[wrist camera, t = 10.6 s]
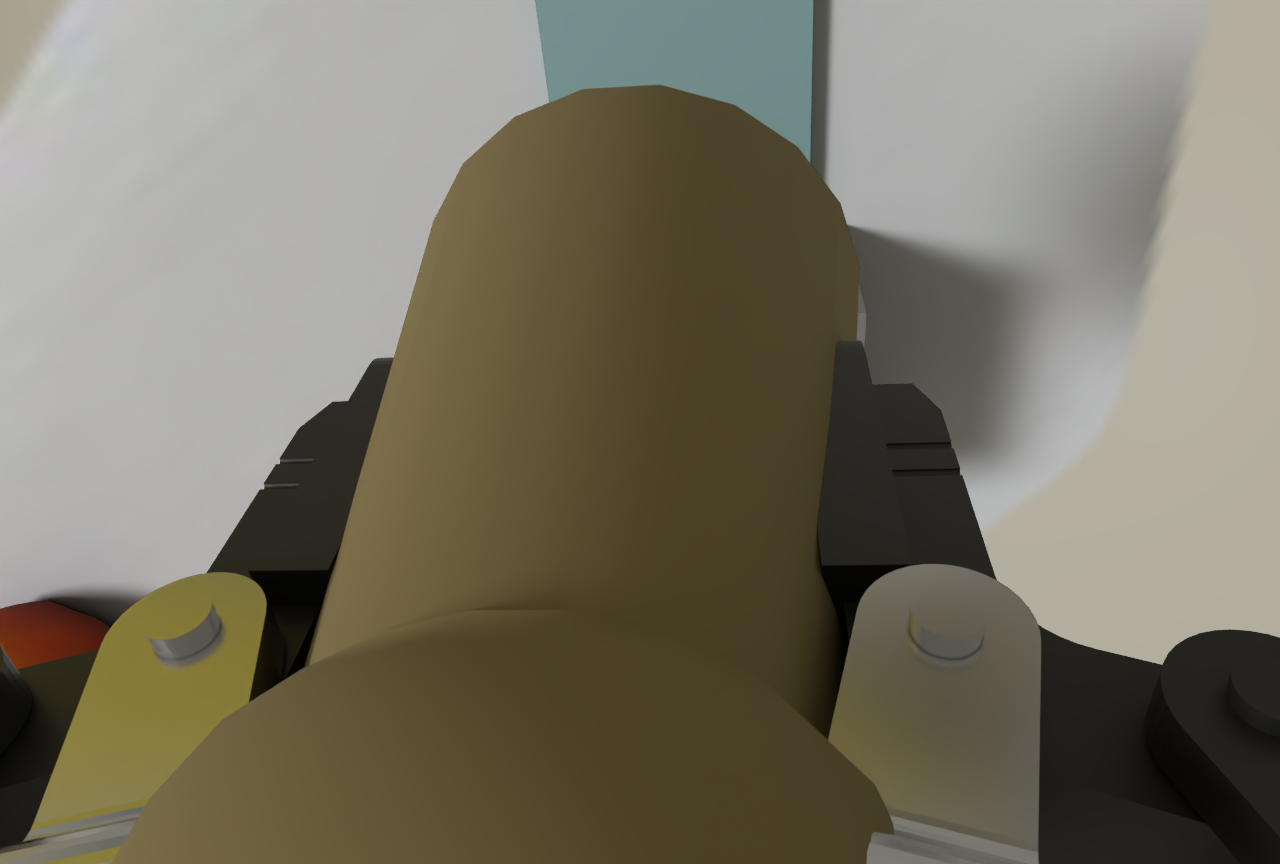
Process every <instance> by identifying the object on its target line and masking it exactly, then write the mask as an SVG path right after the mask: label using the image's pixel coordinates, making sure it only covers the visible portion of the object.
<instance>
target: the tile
mask: <svg viewBox="0 0 1280 864" xmlns="http://www.w3.org/2000/svg"><path fill="white" fill-rule="evenodd" d="M535 2H536V9H537V16H538V24H539V31H540V38H541V45H542V53H543V60H544V67H545V74H546V82H547V89H548V96H549V103H550V102H553V101H555V100H557V99H560V98H562V97H565V96H567V95H570V94H572V93H574V92H577V91H579V90H582V89H592V88H609V87H626V86H643V85H664V86H667V87H671V88H675V89H678V90H682V91H686V92H689V93H693V94H697V95H701V96H704V97H708V98H712V99H715V100H719V101H723V102H726V103H730V104H734V105H736V106H738V107H739V108H741V109H742V110H744V111H745V112H747V113H748V114H750V115H751V116H753V117H754V118H756V119H757V120H759V121H760V122H762V123H763V124H765V125H766V126H768V127H769V128H770V129H772V130H773V131H775V132H776V133H778V134H779V135H781V136H782V137H784V138H785V139H787V140H788V141H790V142H791V143H793V144H794V145H796V146H797V147H798V148H799V149H800V150H801V152H802V153H803V154H804V156H805V157H806V158H807V160H808V161H809V162H810V148H811V97H812V47H813V0H535Z"/></svg>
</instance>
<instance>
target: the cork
mask: <svg viewBox="0 0 1280 864" xmlns="http://www.w3.org/2000/svg"><path fill="white" fill-rule="evenodd" d="M858 293H859V263H858V260H857V257H856V253H855V250H854V247H853V243H852V240H851V237H850V234H849V230H848V227H847V224H846V220H845V217H844V214H843V210H842V207H841V204H840V202H839V201H838V200H837V198H836V197H835V196H834V194H833V193H832V192H831V190H830V189H829V188H828V186H827V185H826V184H825V182H824V181H823V180H822V178H821V177H820V176H819V174H818V173H817V172H816V170H815V169H814V168H813V166H812V165H811V164H810V162H809V161H808V160H807V158H806V157H805V156H804V154H803V153H802V152H801V150H800V149H799V148H798V147H797V146H796V145H794V144H793V143H791V142H790V141H788V140H787V139H785V138H784V137H782V136H781V135H779V134H778V133H776V132H775V131H773V130H772V129H770V128H769V127H768V126H766V125H765V124H763V123H762V122H760V121H759V120H757V119H756V118H754V117H753V116H751V115H750V114H748V113H747V112H745V111H744V110H742V109H741V108H739V107H738V106H736V105H734V104H730V103H726V102H723V101H719V100H715V99H712V98H708V97H704V96H701V95H697V94H693V93H689V92H686V91H682V90H678V89H675V88H671V87H667V86H664V85H643V86H626V87H609V88H592V89H582V90H579V91H577V92H574V93H572V94H570V95H567V96H565V97H562V98H560V99H557V100H555V101H553V102H550V103H548V104H545V105H543V106H540V107H538V108H536V109H533V110H531V111H528V112H526V113H523V114H521V115H518V116H516V117H514V118H513V119H512V120H511V121H510V122H509V123H507V124H506V125H505V126H504V127H503V128H502V129H501V130H500V131H499V132H497V133H496V134H495V135H494V136H493V137H492V138H491V139H490V140H489V141H488V142H486V143H485V144H484V145H483V146H482V147H481V148H480V149H479V150H478V151H477V152H475V153H474V154H473V155H472V156H471V157H470V158H469V159H468V160H467V161H466V162H464V163H463V165H462V167H461V169H460V171H459V173H458V175H457V176H456V178H455V180H454V182H453V184H452V186H451V188H450V190H449V192H448V194H447V196H446V198H445V200H444V202H443V204H442V206H441V208H440V210H439V212H438V213H437V215H436V217H435V219H434V221H433V225H432V228H431V232H430V235H429V238H428V242H427V245H426V249H425V252H424V256H423V259H422V263H421V266H420V269H419V273H418V276H417V280H416V283H415V287H414V290H413V294H412V297H411V300H410V304H409V307H408V311H407V314H406V318H405V321H404V325H403V328H402V332H401V335H400V338H399V342H398V345H397V349H396V352H395V356H394V359H393V363H392V366H391V369H390V373H389V376H388V380H387V383H386V387H385V390H384V394H383V397H382V400H381V404H380V407H379V411H378V414H377V418H376V421H375V425H374V428H373V432H372V435H371V438H370V442H369V445H368V449H367V452H366V456H365V459H364V463H363V466H362V469H361V473H360V476H359V480H358V483H357V487H356V491H355V494H354V498H353V502H352V506H351V509H350V513H349V517H348V521H347V524H346V528H345V532H344V535H343V539H342V543H341V546H340V549H339V552H338V555H337V558H336V561H335V564H334V567H333V570H332V573H331V576H330V580H329V583H328V587H327V590H326V594H325V597H324V601H323V604H322V607H321V611H320V614H319V618H318V621H317V625H316V628H315V632H314V635H313V638H312V642H311V645H310V649H309V652H308V656H307V659H306V663H305V666H304V668H303V669H301V670H299V671H298V672H296V673H295V674H293V675H291V676H290V677H288V678H287V679H285V680H284V681H282V682H280V683H279V684H277V685H276V686H274V687H273V688H271V689H269V690H268V691H266V692H265V693H263V694H262V695H260V696H258V697H257V698H255V699H254V700H252V701H251V702H249V703H247V704H246V705H244V706H243V707H241V708H240V709H238V710H236V711H235V712H233V713H232V714H230V715H229V716H227V717H225V718H224V719H222V721H221V722H220V723H219V724H218V725H217V726H216V727H215V728H214V729H213V730H212V731H211V732H210V733H209V735H208V736H207V737H206V738H205V739H204V740H203V741H202V742H201V743H200V744H199V745H198V746H197V748H196V749H195V750H194V751H193V752H192V753H191V754H190V755H189V756H188V757H187V758H186V759H185V760H184V762H183V763H182V764H181V765H180V766H179V767H178V768H177V769H176V770H175V771H174V772H173V773H172V775H171V776H170V777H169V778H168V779H167V780H166V781H165V782H164V783H163V784H162V785H161V786H160V787H159V789H158V790H157V791H156V792H155V793H154V794H153V795H152V796H151V797H150V798H149V799H148V801H147V803H146V805H145V806H144V808H143V810H142V812H141V813H140V815H139V817H138V818H137V820H136V822H135V824H134V825H133V827H132V829H131V831H130V832H129V834H128V836H127V838H126V839H125V841H124V843H123V844H122V846H121V848H120V850H119V851H118V853H117V855H116V857H115V858H114V860H113V862H112V864H867V851H868V847H869V843H870V841H871V835H872V834H873V832H875V831H880V832H884V833H888V834H892V835H894V826H893V822H892V820H891V817H890V815H889V812H888V810H887V808H886V806H885V804H884V802H883V800H882V798H881V796H880V794H879V792H878V790H877V788H876V785H875V784H874V783H873V782H872V781H871V780H870V779H869V778H868V777H866V776H865V775H864V774H863V773H862V772H861V771H860V770H859V769H858V768H857V767H856V766H855V765H854V764H853V763H852V762H851V761H849V760H848V759H847V758H846V757H845V756H844V755H843V754H842V753H841V752H840V751H839V750H838V749H837V748H836V747H835V746H834V745H832V744H831V743H830V742H829V741H828V738H829V733H830V729H831V724H832V720H833V715H834V711H835V706H836V702H837V697H838V693H839V688H840V684H841V679H842V675H843V670H844V666H845V651H844V639H843V627H842V624H841V622H840V619H839V617H838V615H837V612H836V610H835V607H834V605H833V602H832V600H831V597H830V595H829V592H828V590H827V588H826V585H825V583H824V580H823V578H822V576H821V566H820V555H819V543H818V532H817V517H818V509H819V501H820V493H821V485H822V477H823V469H824V461H825V453H826V444H827V436H828V428H829V420H830V408H831V396H832V384H833V372H834V360H835V348H836V343H837V342H838V341H857V320H858Z"/></svg>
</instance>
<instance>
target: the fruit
mask: <svg viewBox="0 0 1280 864" xmlns="http://www.w3.org/2000/svg"><path fill="white" fill-rule="evenodd" d="M109 629H110V627H108V626H107V625H106V624H105V623H103V622H102V621H100V620H98V619H96V618H94V617H92V616H90V615H87V614H83V613H79V612H77V611H74V610H72V609H69V608H66V607H64V606H61V605H59V604H56V603H54V602H51V601H35V602H28V603H23V604H18V605H13V606H9V607H5V608H2V609H0V645H1V647H2V648H3V650H4V651H5V652H6V654H7V655H8V657H9V658H10V659H11V661H12V662H13V664H14V665H15V667H16V668H17V669H20V668H24V667H28V666H32V665H36V664H40V663H44V662H48V661H52V660H56V659H60V658H64V657H68V656H72V655H76V654H80V653H84V652H88V651H92V650H96V649H100V646H101V644H102V642H103V640H104V638H105V635H106V634H107V632H108V631H109Z"/></svg>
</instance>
